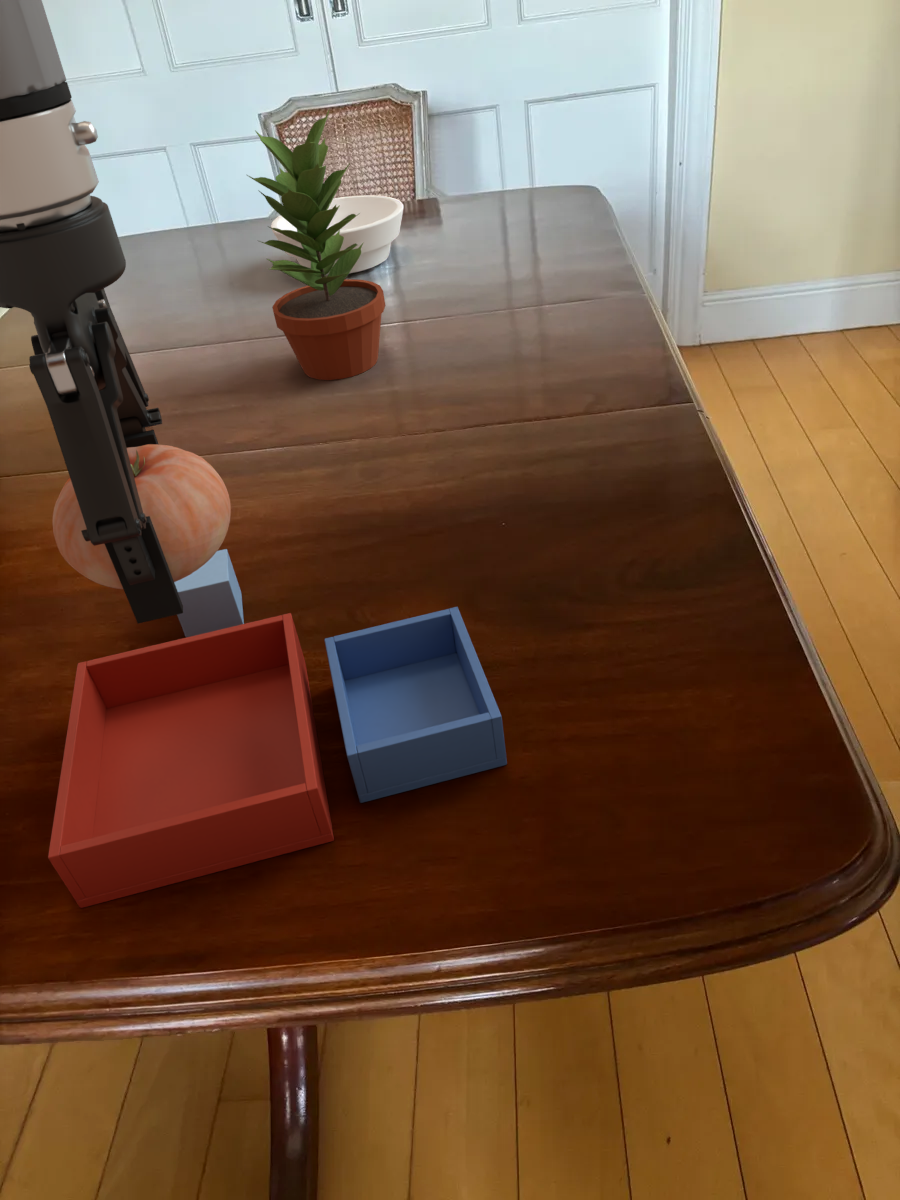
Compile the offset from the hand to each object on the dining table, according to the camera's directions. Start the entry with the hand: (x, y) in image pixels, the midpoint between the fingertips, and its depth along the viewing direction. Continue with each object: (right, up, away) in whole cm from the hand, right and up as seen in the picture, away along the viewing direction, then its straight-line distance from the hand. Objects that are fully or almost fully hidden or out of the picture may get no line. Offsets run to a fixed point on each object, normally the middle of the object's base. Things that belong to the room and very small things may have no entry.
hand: (161, 563), depth 58 cm
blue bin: (+16, -11, +8) cm, 21 cm away
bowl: (+1, +56, +97) cm, 112 cm away
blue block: (-2, -4, +21) cm, 21 cm away
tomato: (0, 0, 0) cm, 0 cm away
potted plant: (+4, +29, +62) cm, 69 cm away
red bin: (+1, -15, +6) cm, 16 cm away
